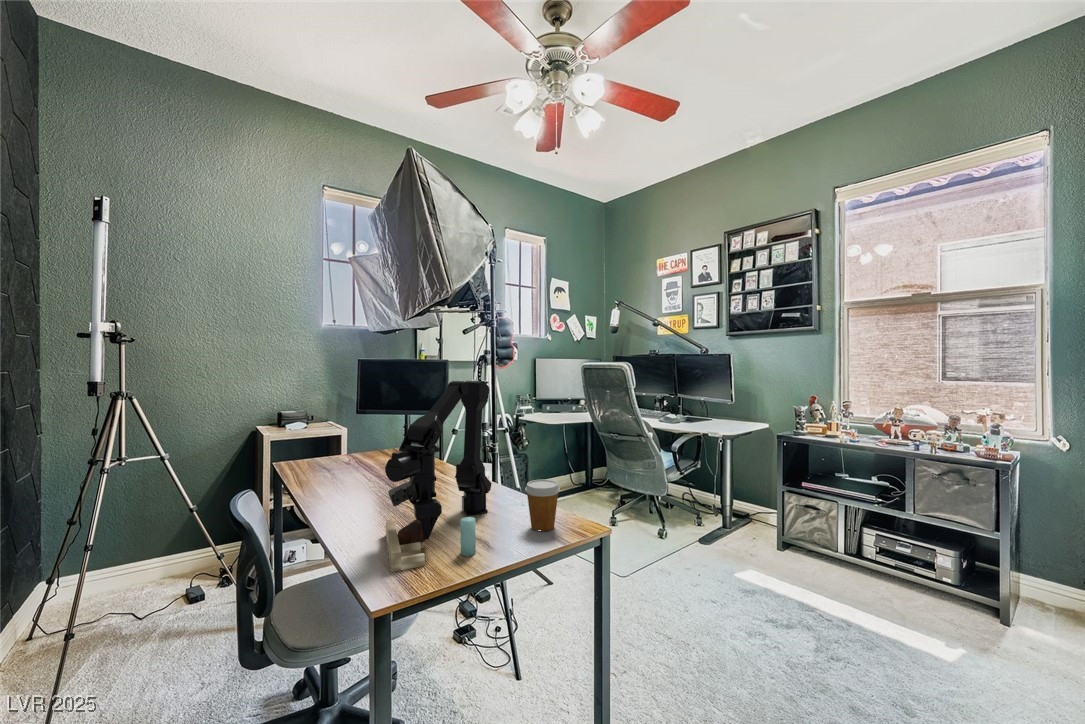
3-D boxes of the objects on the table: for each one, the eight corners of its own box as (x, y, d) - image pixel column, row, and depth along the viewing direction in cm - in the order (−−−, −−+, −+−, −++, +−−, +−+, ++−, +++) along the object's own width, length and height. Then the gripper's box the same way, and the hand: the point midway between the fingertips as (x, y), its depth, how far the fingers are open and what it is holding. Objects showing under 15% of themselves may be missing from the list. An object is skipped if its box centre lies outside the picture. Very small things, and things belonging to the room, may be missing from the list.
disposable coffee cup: (529, 520, 126) (529, 478, 126) (562, 522, 124) (562, 479, 124) (521, 533, 116) (521, 488, 116) (557, 535, 115) (557, 489, 114)
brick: (411, 552, 105) (411, 532, 105) (396, 550, 106) (396, 531, 106) (432, 534, 116) (432, 517, 116) (418, 533, 117) (418, 516, 117)
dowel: (473, 548, 107) (473, 516, 107) (477, 554, 104) (477, 521, 103) (459, 551, 105) (459, 518, 105) (462, 557, 102) (462, 523, 102)
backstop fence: (413, 531, 118) (413, 516, 118) (424, 565, 98) (424, 548, 98) (385, 535, 115) (385, 520, 115) (391, 571, 95) (391, 553, 95)
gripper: (388, 466, 118) (388, 524, 118) (392, 485, 101) (393, 552, 101) (430, 462, 122) (430, 518, 122) (441, 480, 105) (442, 544, 105)
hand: (423, 532), depth 113 cm, fingers open, 9 cm apart
